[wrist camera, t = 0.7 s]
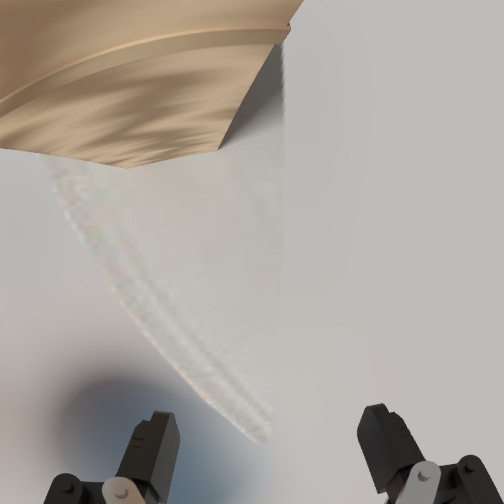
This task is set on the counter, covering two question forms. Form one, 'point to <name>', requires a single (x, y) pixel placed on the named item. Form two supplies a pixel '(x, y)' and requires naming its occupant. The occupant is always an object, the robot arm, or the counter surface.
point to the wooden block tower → (130, 74)
